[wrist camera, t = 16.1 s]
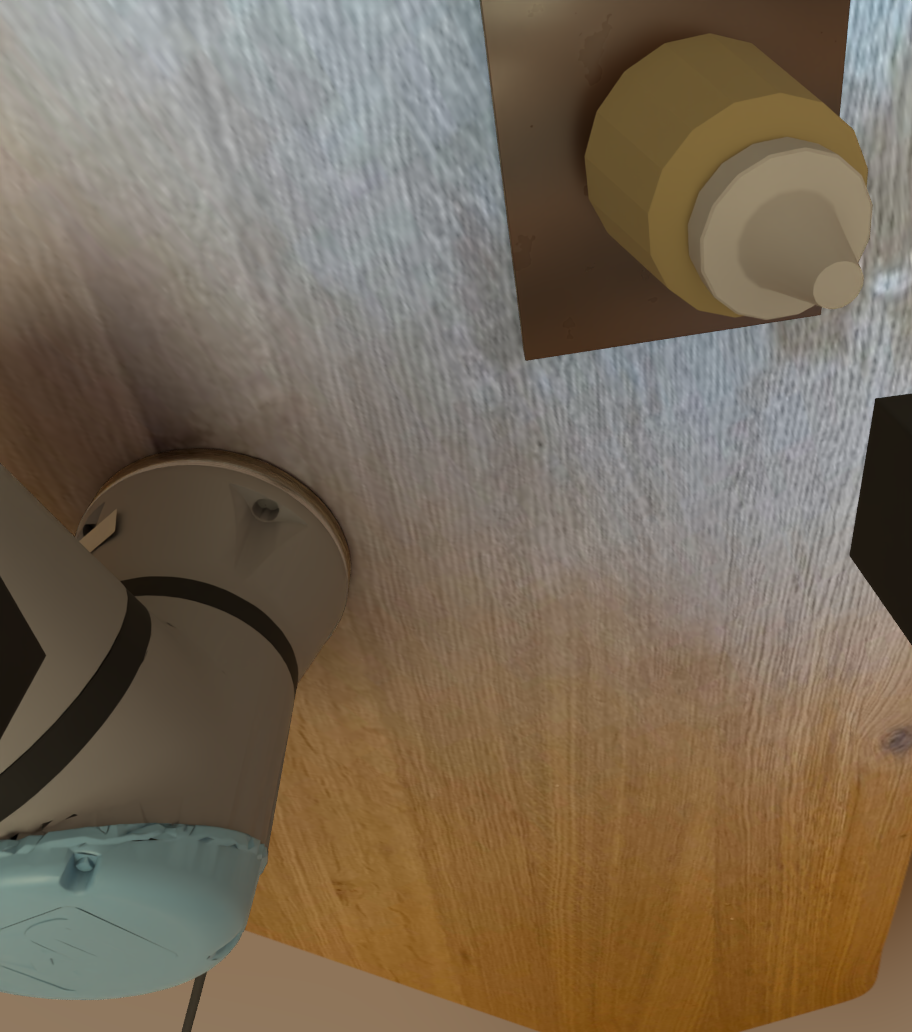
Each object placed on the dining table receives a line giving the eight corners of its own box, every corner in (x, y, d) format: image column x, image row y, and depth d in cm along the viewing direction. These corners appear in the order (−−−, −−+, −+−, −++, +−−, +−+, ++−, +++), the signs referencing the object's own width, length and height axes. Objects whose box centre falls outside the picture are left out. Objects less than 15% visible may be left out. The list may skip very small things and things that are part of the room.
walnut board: (812, 305, 40) (821, 315, 39) (523, 351, 41) (525, 361, 40) (853, -172, 30) (867, -176, 29) (467, -94, 31) (468, -95, 30)
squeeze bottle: (546, 78, 33) (626, 188, 18) (747, -14, 31) (1017, 26, 16) (603, 264, 37) (707, 475, 22) (784, 192, 36) (1023, 370, 21)
